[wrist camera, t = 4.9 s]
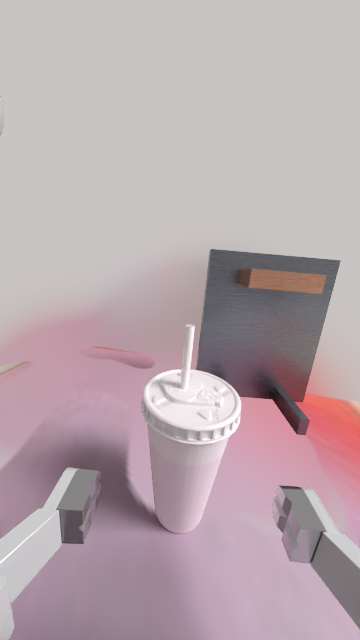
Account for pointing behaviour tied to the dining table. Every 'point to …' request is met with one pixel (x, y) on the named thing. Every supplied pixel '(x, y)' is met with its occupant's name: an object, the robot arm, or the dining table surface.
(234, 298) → the gray menu stand
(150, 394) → the smoothie
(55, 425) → the dining table surface
